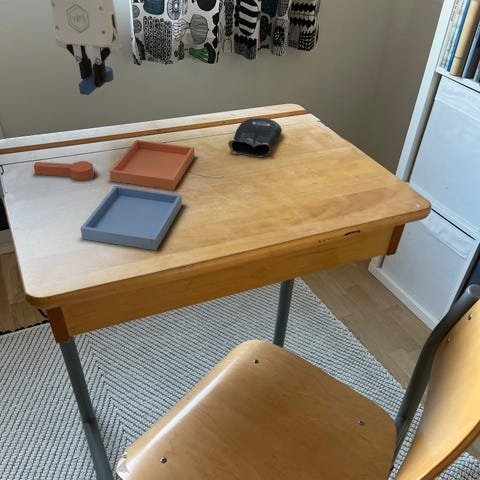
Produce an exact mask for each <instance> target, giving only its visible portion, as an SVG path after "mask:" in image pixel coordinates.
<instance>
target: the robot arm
mask: <svg viewBox="0 0 480 480" xmlns="http://www.w3.org/2000/svg"><path fill="white" fill-rule="evenodd" d="M114 4H115V3H114V0H50V9H51V19H52V27H53V32H54V36H55V44H56V45H57V46H59V47H61V48H63V49H65V50H67V51H68V52H69V53H70V54H71V56H73V57H74V60H75V62H77V63H78V68H79V73H80V79H81V80H82V81H83V80H84V79H85V78H87V77H88V76H89V75H90V74H92V73H93V72H94V79H95V85H96V87H97V88H102V86H104V84H105V81H106V79H107V77H106V69H105V66H106V62H105V61H106V60H107V59H108V58H109V56H110V55H112V54H115V53H118V52H120V51H121V50H122V49H123V44H122V42H121V39H120V37H119V30H118V21H117V15H116V9H115V5H114ZM87 47H92V48H93V58H94V63H93V64H92V60H91V58H89V56H88V51H87V50H88V49H87ZM92 67H93V71H92Z"/></svg>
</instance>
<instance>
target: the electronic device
mask: <svg viewBox="0 0 480 480" xmlns="http://www.w3.org/2000/svg"><path fill="white" fill-rule="evenodd" d="M282 131H283V129H282V127H281V125H280V124H279V123H278V122H277V121H275V120H274V119H270V118H266V117H260V118H259V117H254V118H248V119H245V120H244V121H242V122H241V123H240V124H239V126H238V127H237V129H236V131H235V133H234V135H233V138H232V139H230V140H229V141H228V142H227V145H228V148H229V150H230V154H233V155H234V154H235V155H237V154H238V155H246V156H250V157H256V158H264V157H266V156H267V155H268V154H269V153H270V152H271V149H272V147H273V146H274V143H275V141H276V140H277V139H278V138H279V137H280V136H281V134H282Z"/></svg>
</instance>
